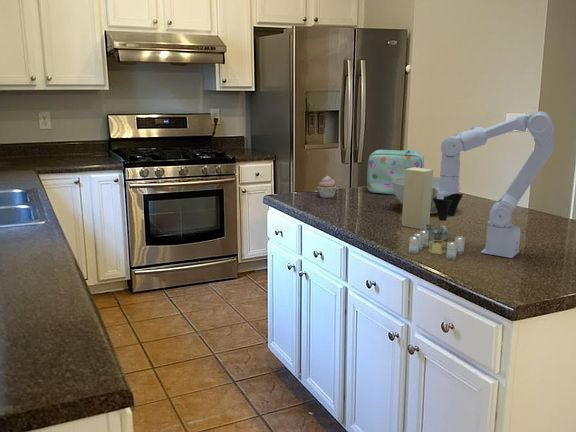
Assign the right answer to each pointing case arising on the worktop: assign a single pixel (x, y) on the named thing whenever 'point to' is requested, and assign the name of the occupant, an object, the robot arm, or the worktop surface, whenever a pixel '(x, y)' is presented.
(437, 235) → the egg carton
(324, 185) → the cupcake
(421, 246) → the cylinder
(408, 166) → the lunch box
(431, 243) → the nut
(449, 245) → the cylinder
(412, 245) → the cylinder
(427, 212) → the beige rectangular block
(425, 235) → the cylinder
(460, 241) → the cylinder
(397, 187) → the decorative bowl
